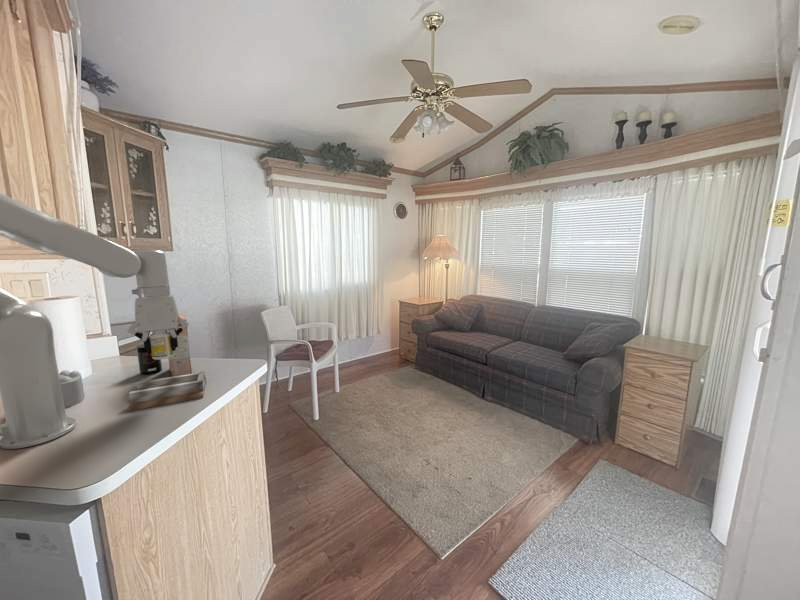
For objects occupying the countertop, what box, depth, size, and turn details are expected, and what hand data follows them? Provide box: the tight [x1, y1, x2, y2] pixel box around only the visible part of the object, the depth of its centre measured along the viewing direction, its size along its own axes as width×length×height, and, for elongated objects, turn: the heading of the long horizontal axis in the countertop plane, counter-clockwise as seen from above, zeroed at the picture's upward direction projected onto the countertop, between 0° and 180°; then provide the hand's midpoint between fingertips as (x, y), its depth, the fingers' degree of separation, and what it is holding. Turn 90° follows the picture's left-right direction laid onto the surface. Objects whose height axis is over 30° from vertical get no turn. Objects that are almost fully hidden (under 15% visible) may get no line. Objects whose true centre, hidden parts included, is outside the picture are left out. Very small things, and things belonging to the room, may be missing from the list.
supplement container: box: [135, 343, 163, 376], centre depth 121 cm, size 7×7×10 cm
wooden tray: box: [127, 371, 207, 412], centre depth 101 cm, size 18×14×4 cm
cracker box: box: [167, 313, 193, 377], centre depth 120 cm, size 14×6×21 cm, turn 40°
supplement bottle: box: [149, 330, 173, 360], centre depth 99 cm, size 5×5×10 cm
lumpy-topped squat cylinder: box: [58, 369, 85, 408], centre depth 98 cm, size 10×13×9 cm
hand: (162, 350), depth 99 cm, fingers closed on supplement bottle, 5 cm apart
